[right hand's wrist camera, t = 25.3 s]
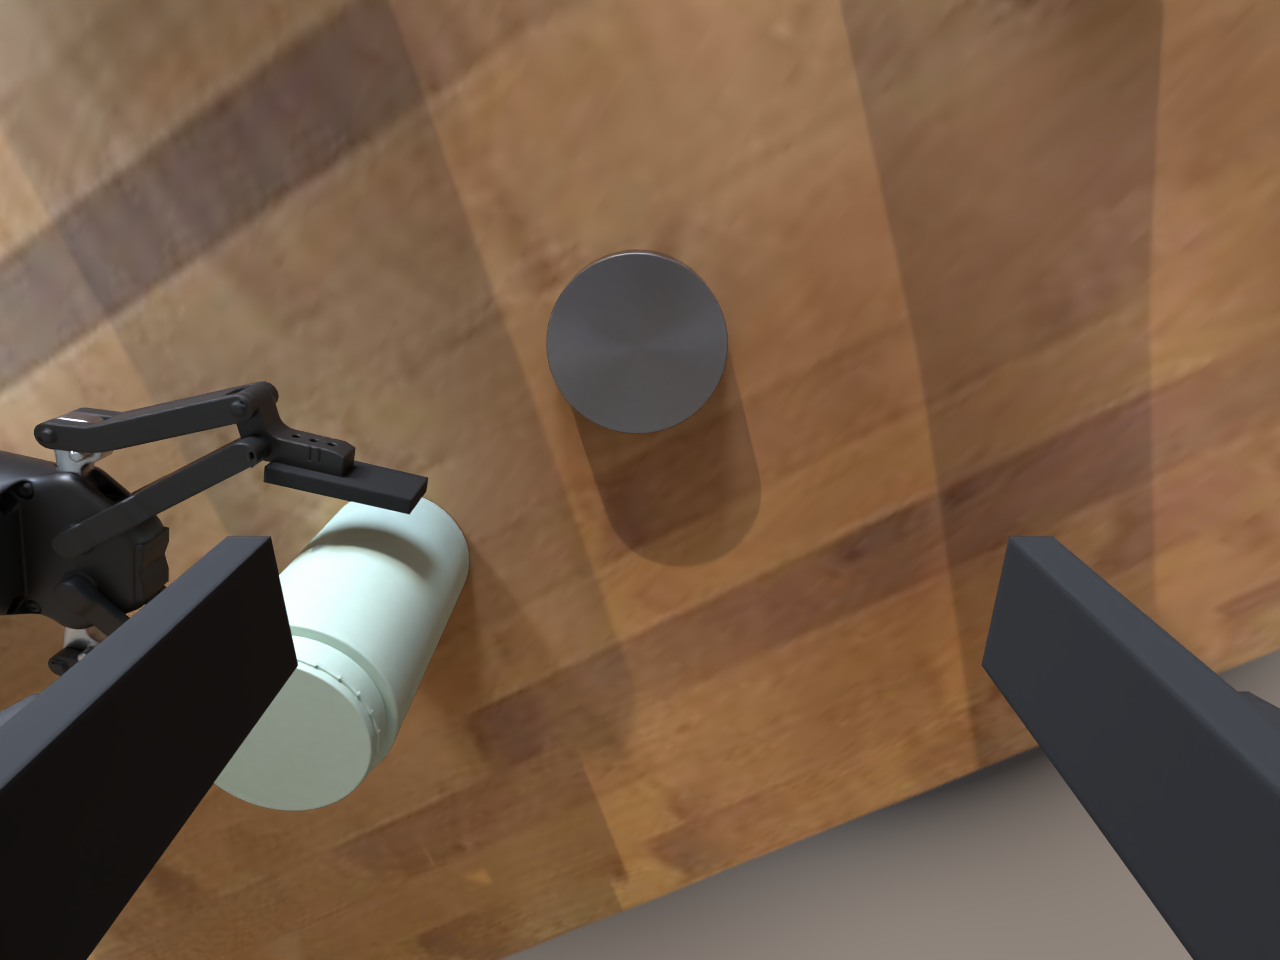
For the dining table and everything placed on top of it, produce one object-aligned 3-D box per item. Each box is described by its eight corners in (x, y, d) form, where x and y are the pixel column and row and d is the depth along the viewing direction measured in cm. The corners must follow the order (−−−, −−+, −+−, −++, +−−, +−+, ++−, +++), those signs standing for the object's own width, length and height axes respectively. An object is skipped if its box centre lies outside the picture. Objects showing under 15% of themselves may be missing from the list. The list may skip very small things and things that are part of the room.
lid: (544, 411, 38) (539, 422, 37) (558, 238, 35) (554, 240, 33) (708, 431, 39) (711, 443, 37) (737, 262, 36) (742, 266, 34)
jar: (497, 544, 41) (424, 726, 27) (421, 639, 44) (318, 850, 30) (373, 462, 40) (226, 611, 26) (301, 565, 42) (131, 753, 28)
